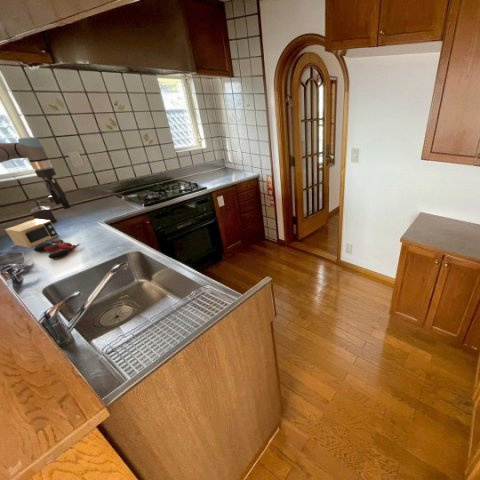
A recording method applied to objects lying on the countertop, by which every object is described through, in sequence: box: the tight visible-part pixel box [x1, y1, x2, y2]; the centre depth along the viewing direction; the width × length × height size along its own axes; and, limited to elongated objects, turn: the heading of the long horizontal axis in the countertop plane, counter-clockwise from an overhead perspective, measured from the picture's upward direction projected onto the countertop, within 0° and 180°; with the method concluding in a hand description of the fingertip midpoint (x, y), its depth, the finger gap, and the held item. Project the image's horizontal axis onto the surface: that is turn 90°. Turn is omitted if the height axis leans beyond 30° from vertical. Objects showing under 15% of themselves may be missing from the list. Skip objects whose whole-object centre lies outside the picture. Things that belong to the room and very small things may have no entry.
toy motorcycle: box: [33, 238, 80, 260], centre depth 154 cm, size 25×5×16 cm
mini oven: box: [4, 218, 59, 248], centre depth 163 cm, size 13×16×11 cm
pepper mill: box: [30, 195, 57, 223], centre depth 190 cm, size 16×11×18 cm
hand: (63, 206), depth 149 cm, fingers open, 13 cm apart
